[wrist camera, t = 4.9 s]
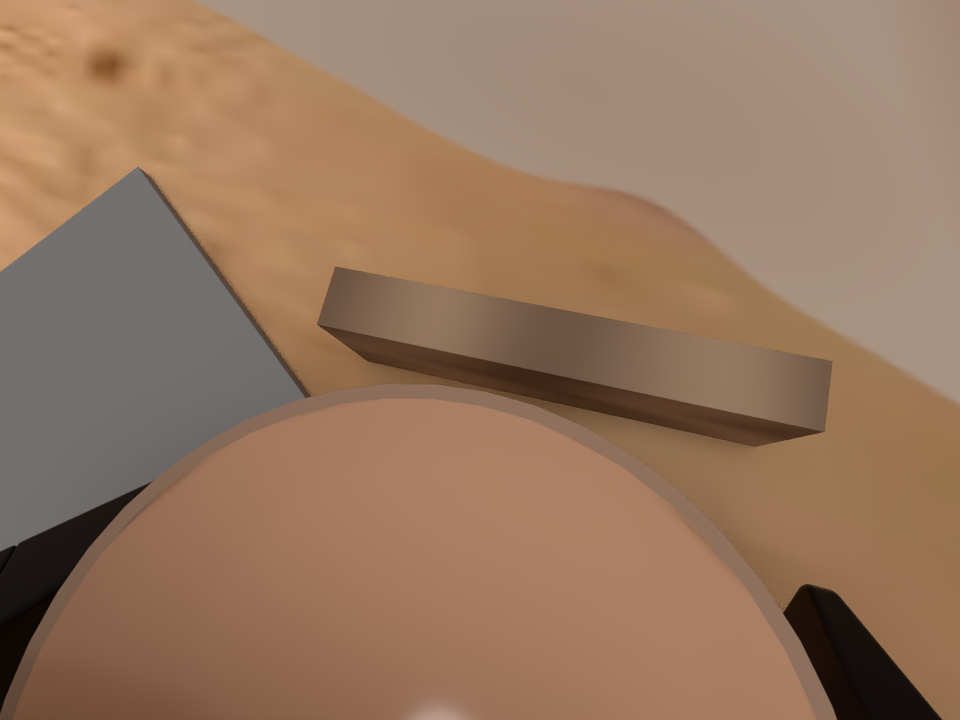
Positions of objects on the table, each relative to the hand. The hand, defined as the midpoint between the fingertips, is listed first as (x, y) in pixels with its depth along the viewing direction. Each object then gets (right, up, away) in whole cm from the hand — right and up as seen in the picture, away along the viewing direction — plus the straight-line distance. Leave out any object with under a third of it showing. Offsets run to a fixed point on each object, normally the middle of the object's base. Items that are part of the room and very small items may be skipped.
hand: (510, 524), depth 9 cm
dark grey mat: (-14, +1, +9) cm, 17 cm away
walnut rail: (+2, +2, +8) cm, 8 cm away
